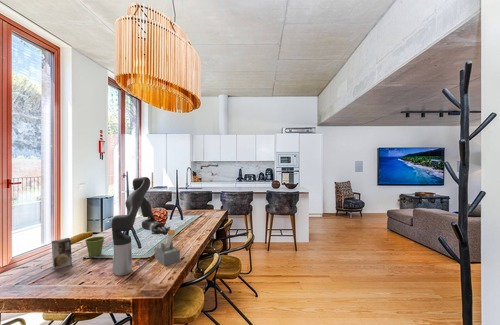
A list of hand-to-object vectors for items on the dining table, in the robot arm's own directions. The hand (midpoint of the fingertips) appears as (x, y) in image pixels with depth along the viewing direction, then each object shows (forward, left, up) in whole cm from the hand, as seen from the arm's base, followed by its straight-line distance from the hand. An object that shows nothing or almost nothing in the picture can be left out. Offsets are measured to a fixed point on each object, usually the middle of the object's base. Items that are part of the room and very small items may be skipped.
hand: (165, 233), depth 164 cm
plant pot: (-53, -7, -17) cm, 56 cm away
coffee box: (-58, -26, -17) cm, 66 cm away
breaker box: (+1, -1, -17) cm, 17 cm away
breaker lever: (+1, 0, -9) cm, 9 cm away
